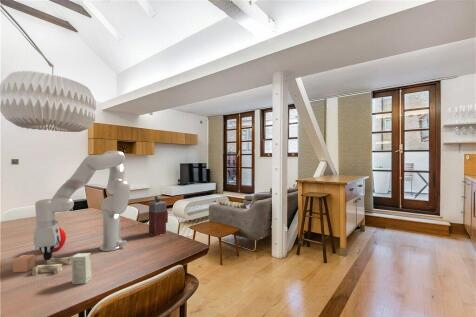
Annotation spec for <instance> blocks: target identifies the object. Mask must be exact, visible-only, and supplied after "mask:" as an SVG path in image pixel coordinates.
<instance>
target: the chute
mask: <svg viewBox="0 0 476 317" xmlns="http://www.w3.org/2000/svg"><path fill="white" fill-rule="evenodd" d="M74 255H75V254H74ZM74 255H72V254H71V255H69V256H67V257H65V256H64V257H55V255H52V258H51V259H49V260H46V264H40V265H39V264H38V265H35V267H33V268H32V269H31V275H32V276H37V275H38V274H39V273H53V274H54V275H57V274H60V272H61V271H63V265H69V264H70V265H71V264H72V257H73V256H74Z"/></svg>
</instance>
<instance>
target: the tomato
mask: <svg viewBox="0 0 476 317" xmlns="http://www.w3.org/2000/svg"><path fill="white" fill-rule="evenodd" d="M58 228H59V232H60V239H61V241H60V242H59V245H60V246H59V247H57V248H54V249H53V250H52V252H56V251H59V250H60V249H62V248H63V247H64V245H65V243H66V240H67V235H66V232H65V230H64V229H63V228H61V227H58Z"/></svg>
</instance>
